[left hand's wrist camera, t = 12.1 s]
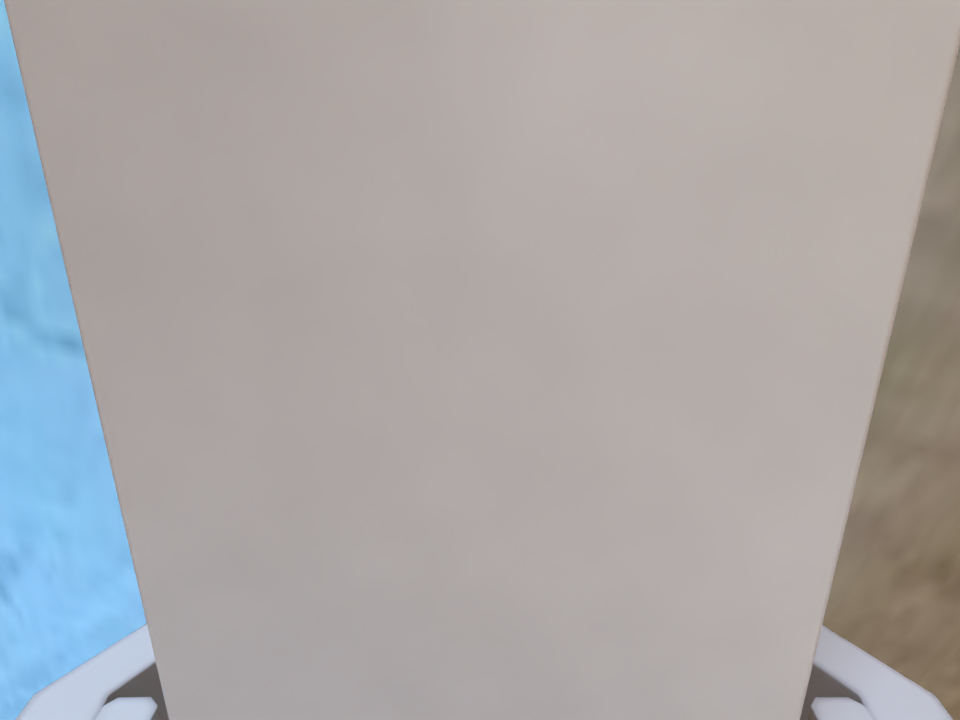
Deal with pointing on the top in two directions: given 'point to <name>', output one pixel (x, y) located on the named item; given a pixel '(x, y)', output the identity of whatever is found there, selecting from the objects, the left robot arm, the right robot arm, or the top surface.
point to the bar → (485, 334)
